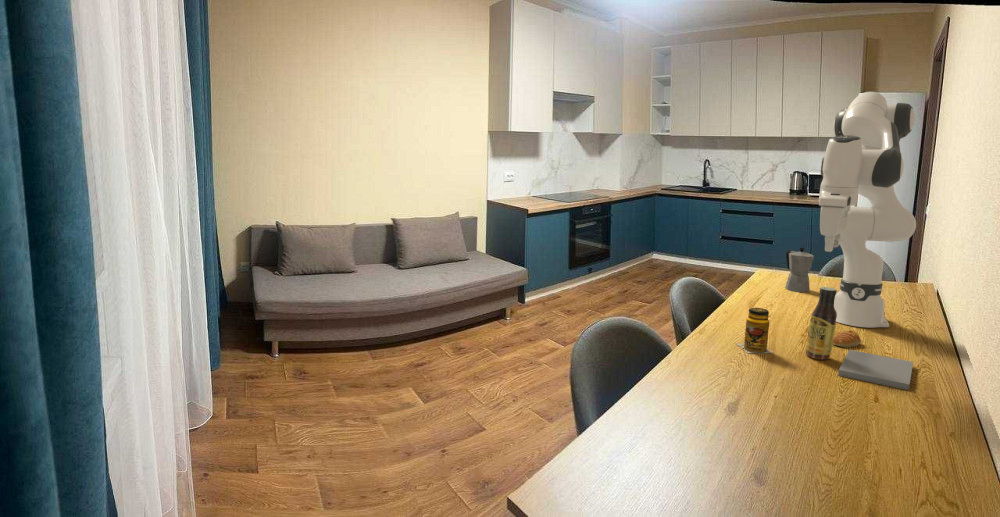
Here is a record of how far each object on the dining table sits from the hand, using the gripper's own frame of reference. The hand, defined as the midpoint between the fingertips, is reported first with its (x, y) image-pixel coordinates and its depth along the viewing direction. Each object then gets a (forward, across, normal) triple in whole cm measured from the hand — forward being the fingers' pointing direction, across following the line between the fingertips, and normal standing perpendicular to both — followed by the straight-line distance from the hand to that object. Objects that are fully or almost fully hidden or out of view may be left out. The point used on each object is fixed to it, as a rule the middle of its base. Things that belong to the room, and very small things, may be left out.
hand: (831, 249), depth 160 cm
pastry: (+31, -19, +4) cm, 37 cm away
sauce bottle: (+31, 0, 0) cm, 31 cm away
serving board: (+31, +2, +14) cm, 34 cm away
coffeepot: (+31, -88, -22) cm, 96 cm away
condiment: (+31, +4, -16) cm, 35 cm away
